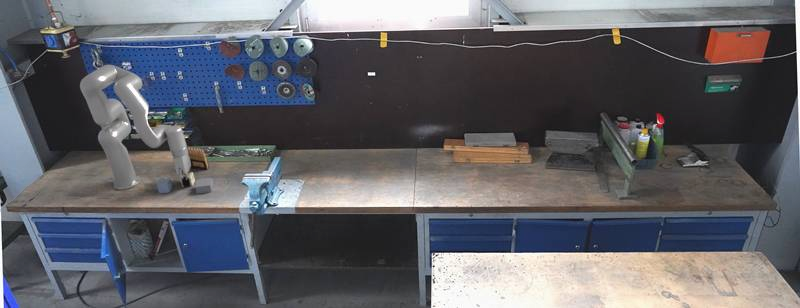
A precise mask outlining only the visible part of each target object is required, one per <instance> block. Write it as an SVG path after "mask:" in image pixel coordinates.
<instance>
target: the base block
mask: <svg viewBox="0 0 800 308" xmlns="http://www.w3.org/2000/svg"><path fill="white" fill-rule="evenodd" d="M214 185H215V184H214V181H213V178H212V177H210V178H209V177H208V178H201V179H197V180H196V181H195V186H194V188H195V193H196V195H198V193H199V194H205V193H206V194H207V193H213V192H212V191H213V188H214Z"/></svg>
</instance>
